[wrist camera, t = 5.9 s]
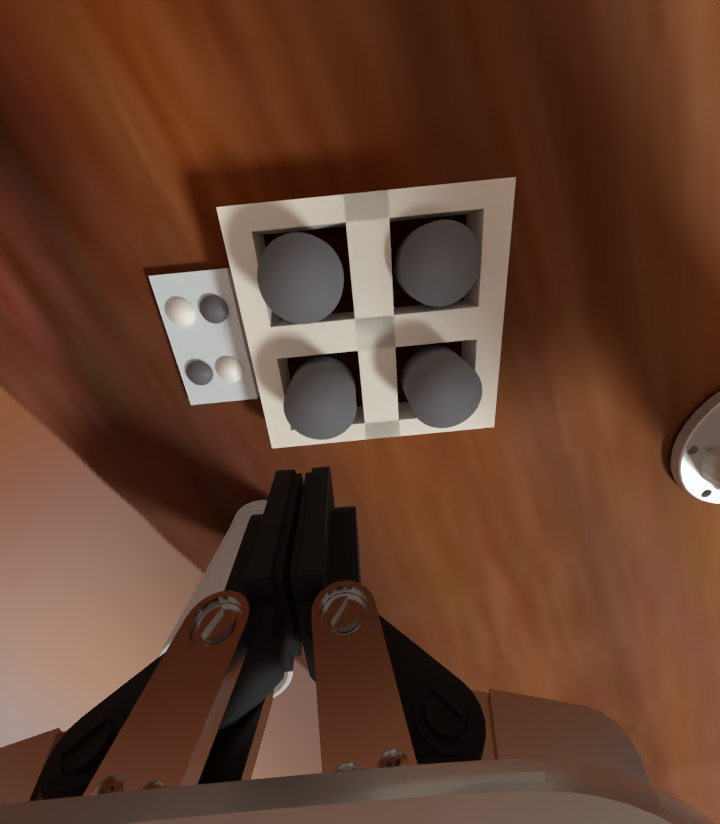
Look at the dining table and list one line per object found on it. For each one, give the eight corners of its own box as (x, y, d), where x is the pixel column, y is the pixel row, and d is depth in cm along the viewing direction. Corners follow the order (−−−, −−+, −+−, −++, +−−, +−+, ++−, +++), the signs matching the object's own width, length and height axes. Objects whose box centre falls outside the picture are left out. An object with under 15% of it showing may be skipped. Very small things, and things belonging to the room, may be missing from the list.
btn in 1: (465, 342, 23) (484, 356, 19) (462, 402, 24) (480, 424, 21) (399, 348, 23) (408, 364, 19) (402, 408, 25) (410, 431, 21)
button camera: (339, 232, 20) (338, 227, 16) (347, 310, 21) (347, 320, 18) (264, 239, 20) (248, 236, 16) (278, 317, 22) (266, 328, 18)
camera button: (462, 221, 21) (483, 215, 18) (460, 296, 23) (478, 302, 20) (391, 228, 21) (399, 223, 18) (395, 302, 23) (402, 310, 20)
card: (229, 267, 22) (225, 268, 21) (259, 395, 26) (256, 399, 25) (153, 275, 22) (146, 276, 21) (194, 401, 26) (189, 406, 25)
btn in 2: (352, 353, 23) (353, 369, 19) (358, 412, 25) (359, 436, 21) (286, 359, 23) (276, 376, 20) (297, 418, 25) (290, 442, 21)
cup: (213, 496, 30) (136, 636, 19) (304, 488, 30) (278, 623, 19) (235, 561, 33) (181, 712, 22) (316, 554, 33) (302, 701, 22)
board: (493, 187, 21) (516, 177, 18) (479, 409, 27) (494, 427, 24) (233, 213, 21) (215, 207, 18) (279, 428, 27) (272, 448, 24)
